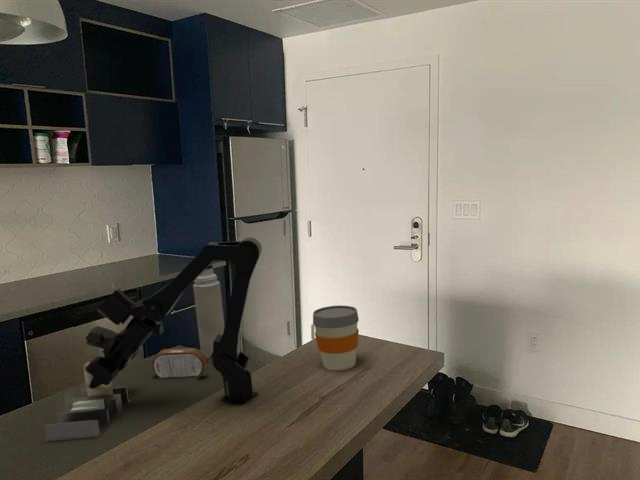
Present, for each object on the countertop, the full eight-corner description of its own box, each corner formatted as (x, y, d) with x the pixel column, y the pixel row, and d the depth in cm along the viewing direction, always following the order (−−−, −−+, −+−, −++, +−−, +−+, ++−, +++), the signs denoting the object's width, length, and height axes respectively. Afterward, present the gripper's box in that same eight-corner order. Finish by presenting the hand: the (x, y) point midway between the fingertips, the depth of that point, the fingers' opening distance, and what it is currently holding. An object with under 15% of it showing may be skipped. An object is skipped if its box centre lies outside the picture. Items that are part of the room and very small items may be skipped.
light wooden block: (114, 403, 122) (108, 360, 120) (110, 407, 119) (104, 363, 118) (94, 405, 122) (87, 361, 120) (89, 409, 119) (83, 365, 118)
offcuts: (105, 415, 115) (103, 397, 115) (99, 423, 112) (96, 404, 111) (80, 417, 115) (77, 399, 115) (72, 425, 112) (69, 407, 111)
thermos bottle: (212, 348, 160) (202, 262, 156) (232, 350, 156) (222, 262, 153) (196, 357, 153) (185, 267, 149) (217, 359, 149) (206, 267, 146)
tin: (209, 375, 137) (206, 346, 136) (205, 380, 134) (202, 350, 133) (157, 377, 139) (153, 348, 138) (152, 382, 136) (148, 352, 135)
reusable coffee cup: (320, 356, 144) (315, 306, 143) (363, 355, 143) (359, 304, 141) (313, 373, 132) (308, 319, 130) (360, 372, 130) (356, 317, 128)
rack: (131, 403, 123) (128, 386, 122) (101, 440, 106) (98, 420, 105) (82, 407, 123) (80, 390, 122) (45, 445, 105) (41, 425, 105)
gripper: (120, 305, 127) (83, 351, 128) (88, 327, 108) (45, 380, 110) (155, 332, 128) (118, 377, 129) (129, 358, 109) (86, 410, 111)
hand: (93, 385), depth 120 cm, fingers closed on light wooden block, 2 cm apart
